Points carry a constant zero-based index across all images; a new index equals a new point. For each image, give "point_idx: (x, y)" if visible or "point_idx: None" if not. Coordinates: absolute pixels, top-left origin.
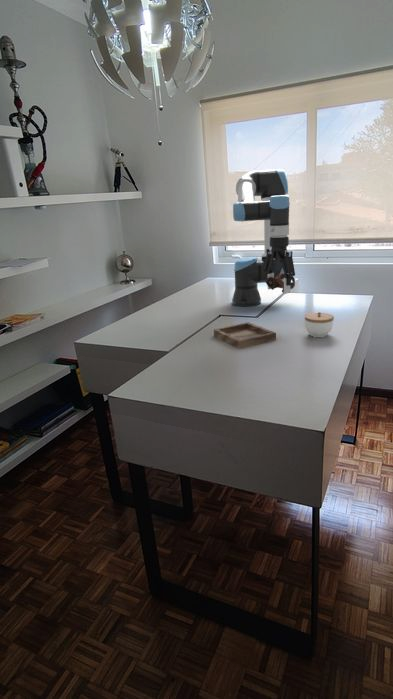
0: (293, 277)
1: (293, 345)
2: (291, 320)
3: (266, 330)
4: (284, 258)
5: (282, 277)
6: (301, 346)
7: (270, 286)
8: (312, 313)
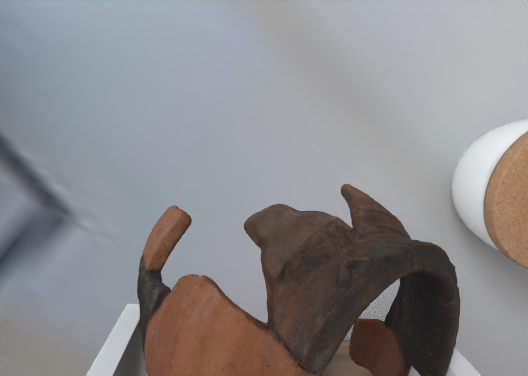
0: (407, 253)
1: (490, 327)
2: (231, 107)
3: (364, 371)
4: None
5: (195, 323)
6: (517, 313)
7: None
8: (514, 191)
